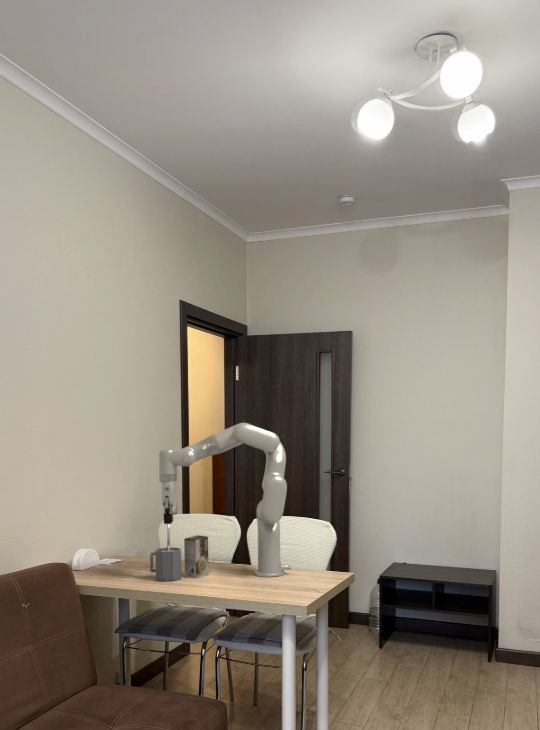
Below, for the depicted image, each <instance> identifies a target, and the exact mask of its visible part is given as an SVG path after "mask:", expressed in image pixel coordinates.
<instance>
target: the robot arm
mask: <svg viewBox="0 0 540 730" xmlns="http://www.w3.org/2000/svg"><path fill="white" fill-rule="evenodd" d="M243 444H244V445H246V446H249V447H251V448H252V447H253V448H255V449H257V450H261V451H263V452H264V454H265V458H266V460H265V468H264V474H263V479H262V483H261V489H262V490H263V494H262V499H261V500H260V501H259V502H258V504H257V507H256V522H257V569H256V570H255V571H254V575H255V576H257V577H263V578H273V577H280V576H283V575H285V570H287V571H288V570H290V571H291V570H292V565H291V564H282V561H281V524H280V523H281V522H280V521H281V519H282V517H283V515H284V511H285V505H286V504H285V503H286V498H287V492H288V491H287V490H288V484H287V481H286V479H285V472H286V463H287V455H286V451H285V447H284V446H283V444H282V442H281V440H280V437H279V436H278V434H276V433H275V432H273V431H270V430H267V429H265V428H261V427H258V426H255V425H253V424H251V423H248V422H240V423H238V424H234V425H232V426H230V427H228V428H226V429H223V430H221V431H218V432H216V433H213V434H211V435H209V436H207V437H206V438H204V439H202V440H199V441H197V442H195V443H192V444H190V445H188V446H186V447H183V448H181V449H176V448H175V449H174V448H168V449H167V448H163V449H160V450H159V453H158V456H159V457H158V463H159V464H158V470H159V471H158V475H159V476H158V477H159V481H158V482H159V483H160V484H161V505H162V507H163V508H164V509H163V524H164V525H167V524H172V523H173V522H174V519H173V520H172V514H171V512H173V513H174V511H173V510H174V509H173V507H175V506H176V505H177V497H176V495H177V494H176V492H177V491H176V483H178V466H179V467H180V466H181V467H190V466H192V465H193V464H194V463H196V462H198V461H200V460H202V459H205V458H208V457H210V456H215V455H219V454H222V453H224V452H226V451H229V450H231V449H233V448H236V447H239V446H240V445H243Z"/></svg>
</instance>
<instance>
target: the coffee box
mask: <svg viewBox="0 0 540 730" xmlns="http://www.w3.org/2000/svg"><path fill="white" fill-rule="evenodd" d="M183 540H184V542H183V543H184V547H183V548H184V578H189V579H195V578H196V579H199V578H202V577H205V576H207V575H209V573H210V571H209V536H207V535H206V536H205V535H199V534H198V535H194V536H190V537H185V538H184V539H183Z"/></svg>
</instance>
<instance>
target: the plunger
mask: <svg viewBox="0 0 540 730" xmlns="http://www.w3.org/2000/svg"><path fill="white" fill-rule="evenodd" d="M171 514H172V520H173V521H174V511H173V512H171ZM170 527H171V525H170V524H166V529H167V531H166V533H167V534H166V535H167V536H166V537H167V539H166V548H167V549H166V550H160V551H162V552H170V551H177V550H175V549H170V548H171V538H170V537H171V533H170V532H171V531H170V529H171V528H170Z"/></svg>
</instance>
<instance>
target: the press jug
mask: <svg viewBox="0 0 540 730" xmlns="http://www.w3.org/2000/svg"><path fill="white" fill-rule="evenodd" d="M166 549H167V547H161V548H157V549H156V550H155V551H151V552H150V553H149V554H150V555H149V556H150V557H149V558H150V559H149V561H150V562H149V565H150V566H149V571H150V573H151V574H152V573H155V580H156V582H160V583H167V582H171V583H172V582H177V581H180V580H181V579H182V548H180V547H173V546H172V547H170V549H175V550H177V551H170V552H162V551H160V550H166ZM154 556H155V568H154Z"/></svg>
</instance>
